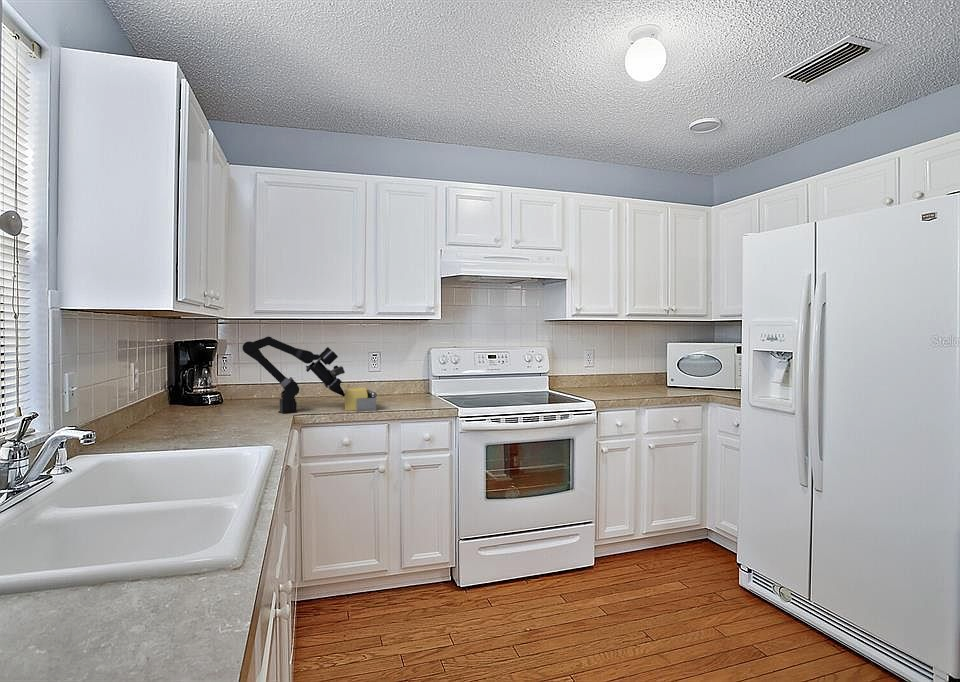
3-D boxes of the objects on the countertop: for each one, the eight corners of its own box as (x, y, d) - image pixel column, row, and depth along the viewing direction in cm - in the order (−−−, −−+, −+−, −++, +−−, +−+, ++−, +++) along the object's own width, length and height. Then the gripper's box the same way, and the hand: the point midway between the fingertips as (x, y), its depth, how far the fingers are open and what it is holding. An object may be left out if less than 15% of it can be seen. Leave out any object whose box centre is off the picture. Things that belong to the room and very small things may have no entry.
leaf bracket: (357, 411, 272) (357, 393, 272) (350, 407, 288) (350, 389, 288) (377, 410, 276) (377, 392, 276) (369, 406, 292) (369, 389, 291)
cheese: (345, 408, 285) (345, 387, 284) (368, 407, 286) (368, 387, 286) (344, 411, 274) (344, 389, 274) (367, 410, 276) (367, 389, 276)
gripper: (337, 361, 268) (361, 385, 272) (331, 359, 285) (353, 382, 289) (319, 378, 265) (343, 402, 269) (314, 375, 282) (336, 398, 286)
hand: (344, 395), depth 278 cm, fingers closed, pressing on cheese
